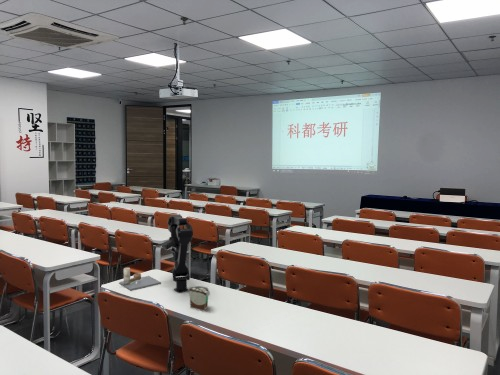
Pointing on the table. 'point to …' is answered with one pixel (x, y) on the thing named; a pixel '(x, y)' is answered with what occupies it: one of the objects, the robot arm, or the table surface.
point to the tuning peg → (127, 276)
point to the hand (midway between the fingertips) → (175, 260)
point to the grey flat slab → (141, 283)
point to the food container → (199, 297)
